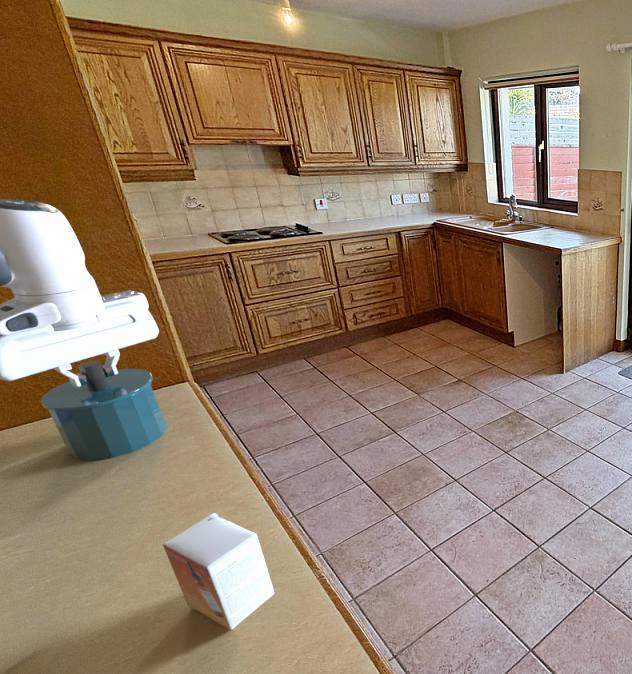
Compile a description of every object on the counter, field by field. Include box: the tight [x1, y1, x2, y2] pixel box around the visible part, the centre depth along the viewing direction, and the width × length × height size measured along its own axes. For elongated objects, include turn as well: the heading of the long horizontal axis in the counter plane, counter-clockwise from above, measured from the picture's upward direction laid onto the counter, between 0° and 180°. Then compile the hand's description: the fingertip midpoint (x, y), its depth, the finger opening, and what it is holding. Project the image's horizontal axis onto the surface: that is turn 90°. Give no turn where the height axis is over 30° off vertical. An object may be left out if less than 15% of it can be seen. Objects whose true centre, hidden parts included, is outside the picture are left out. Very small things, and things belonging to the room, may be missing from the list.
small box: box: [162, 512, 275, 631], centre depth 57 cm, size 8×6×10 cm
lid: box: [40, 360, 154, 411], centre depth 81 cm, size 14×14×6 cm
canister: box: [47, 383, 168, 462], centre depth 84 cm, size 13×13×10 cm
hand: (96, 380), depth 81 cm, fingers closed on lid, 2 cm apart
